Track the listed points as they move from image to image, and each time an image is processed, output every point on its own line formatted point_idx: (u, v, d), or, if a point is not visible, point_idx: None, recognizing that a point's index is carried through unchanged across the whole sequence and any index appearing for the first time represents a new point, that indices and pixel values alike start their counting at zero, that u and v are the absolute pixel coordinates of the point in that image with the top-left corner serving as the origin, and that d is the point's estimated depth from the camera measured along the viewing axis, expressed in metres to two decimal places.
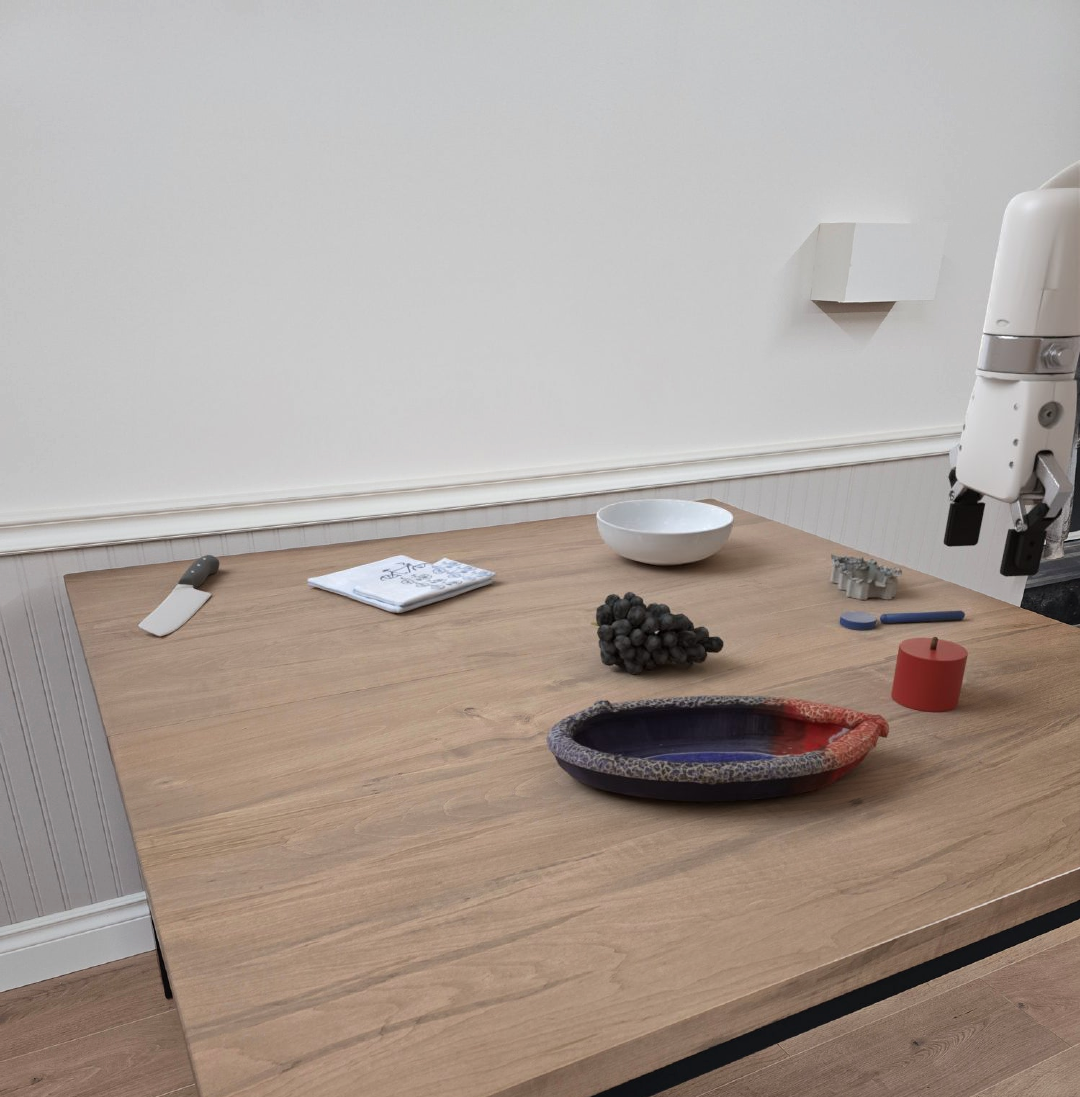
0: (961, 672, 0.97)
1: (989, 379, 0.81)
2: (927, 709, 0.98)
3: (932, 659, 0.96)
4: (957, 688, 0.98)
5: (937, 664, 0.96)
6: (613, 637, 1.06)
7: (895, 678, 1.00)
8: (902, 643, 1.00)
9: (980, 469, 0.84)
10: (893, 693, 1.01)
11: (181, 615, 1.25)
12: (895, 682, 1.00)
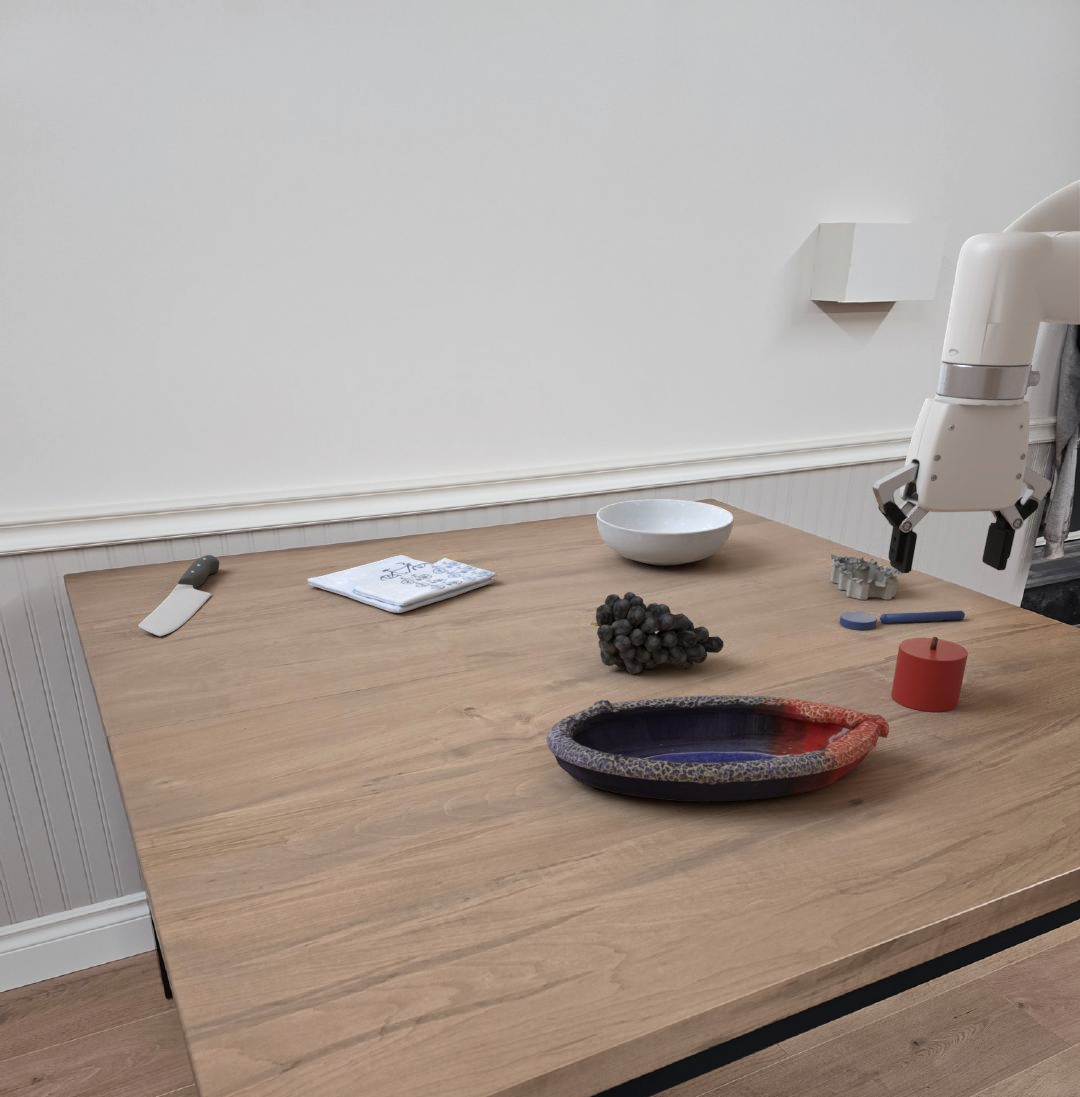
0: (961, 672, 0.97)
1: (983, 407, 0.86)
2: (927, 709, 0.98)
3: (932, 659, 0.96)
4: (957, 688, 0.98)
5: (937, 664, 0.96)
6: (613, 637, 1.06)
7: (895, 678, 1.00)
8: (902, 643, 1.00)
9: (974, 489, 0.89)
10: (893, 693, 1.01)
11: (181, 615, 1.25)
12: (895, 682, 1.00)
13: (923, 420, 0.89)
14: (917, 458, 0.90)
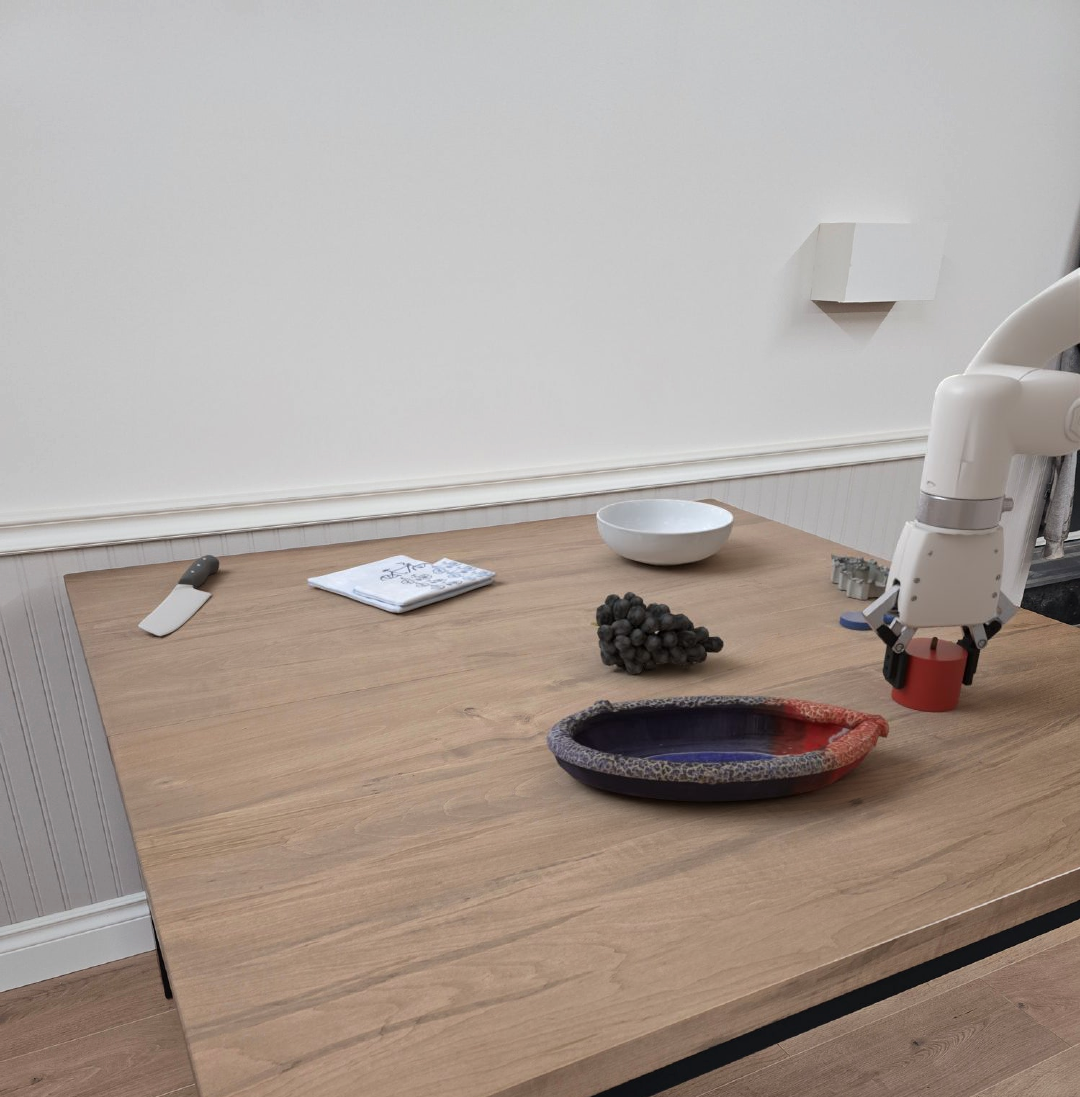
0: (961, 672, 0.97)
1: (959, 535, 0.91)
2: (927, 709, 0.98)
3: (932, 659, 0.96)
4: (957, 688, 0.98)
5: (937, 664, 0.96)
6: (613, 637, 1.06)
7: None
8: None
9: (953, 608, 0.95)
10: (893, 693, 1.01)
11: (181, 615, 1.25)
12: None
13: (903, 543, 0.94)
14: (898, 578, 0.95)
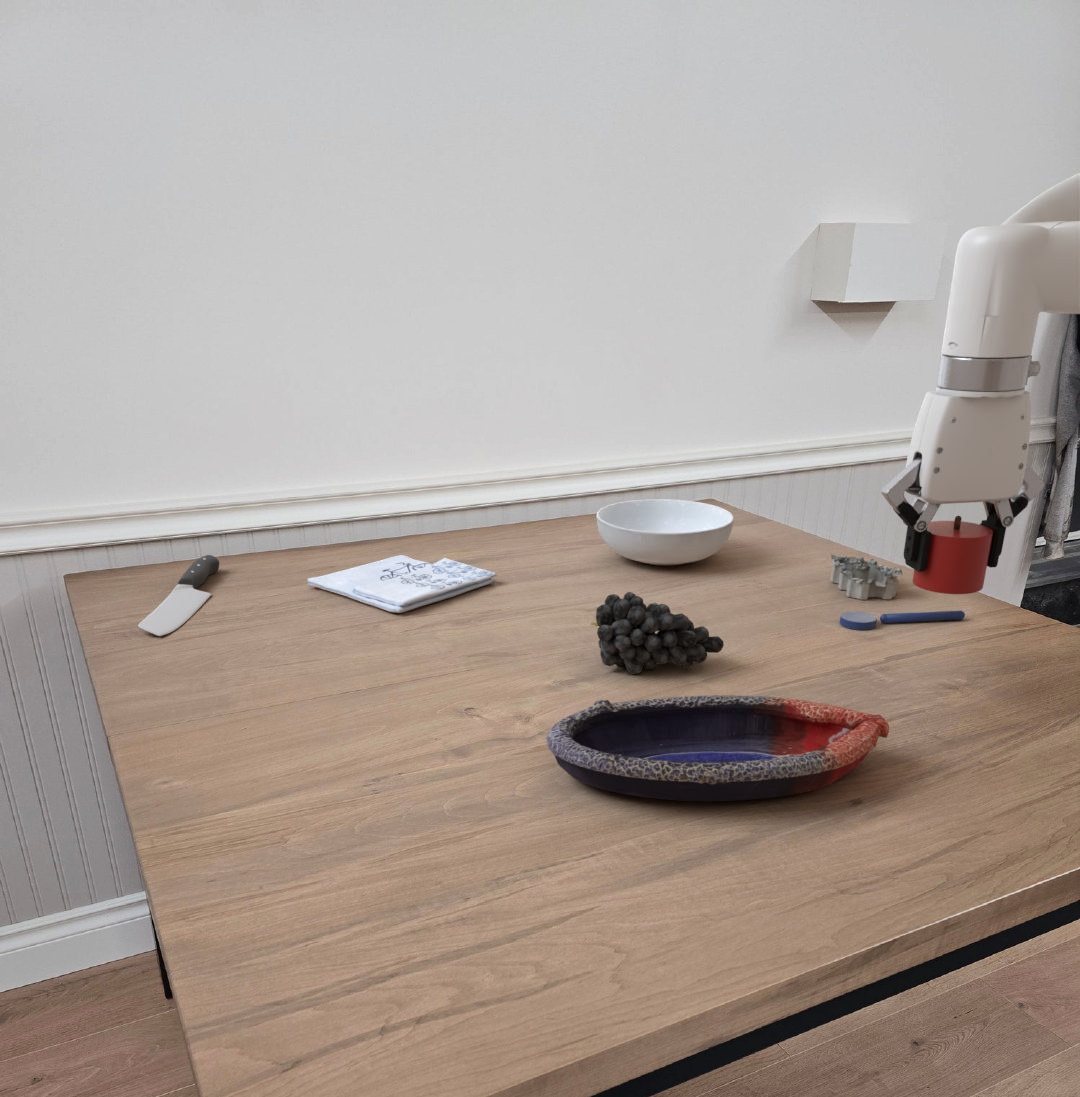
0: (986, 551, 0.93)
1: (984, 399, 0.87)
2: (951, 591, 0.94)
3: (955, 537, 0.92)
4: (982, 568, 0.94)
5: (961, 542, 0.92)
6: (613, 637, 1.06)
7: None
8: None
9: (977, 480, 0.90)
10: (915, 578, 0.97)
11: (181, 615, 1.25)
12: None
13: (925, 413, 0.90)
14: (919, 451, 0.91)
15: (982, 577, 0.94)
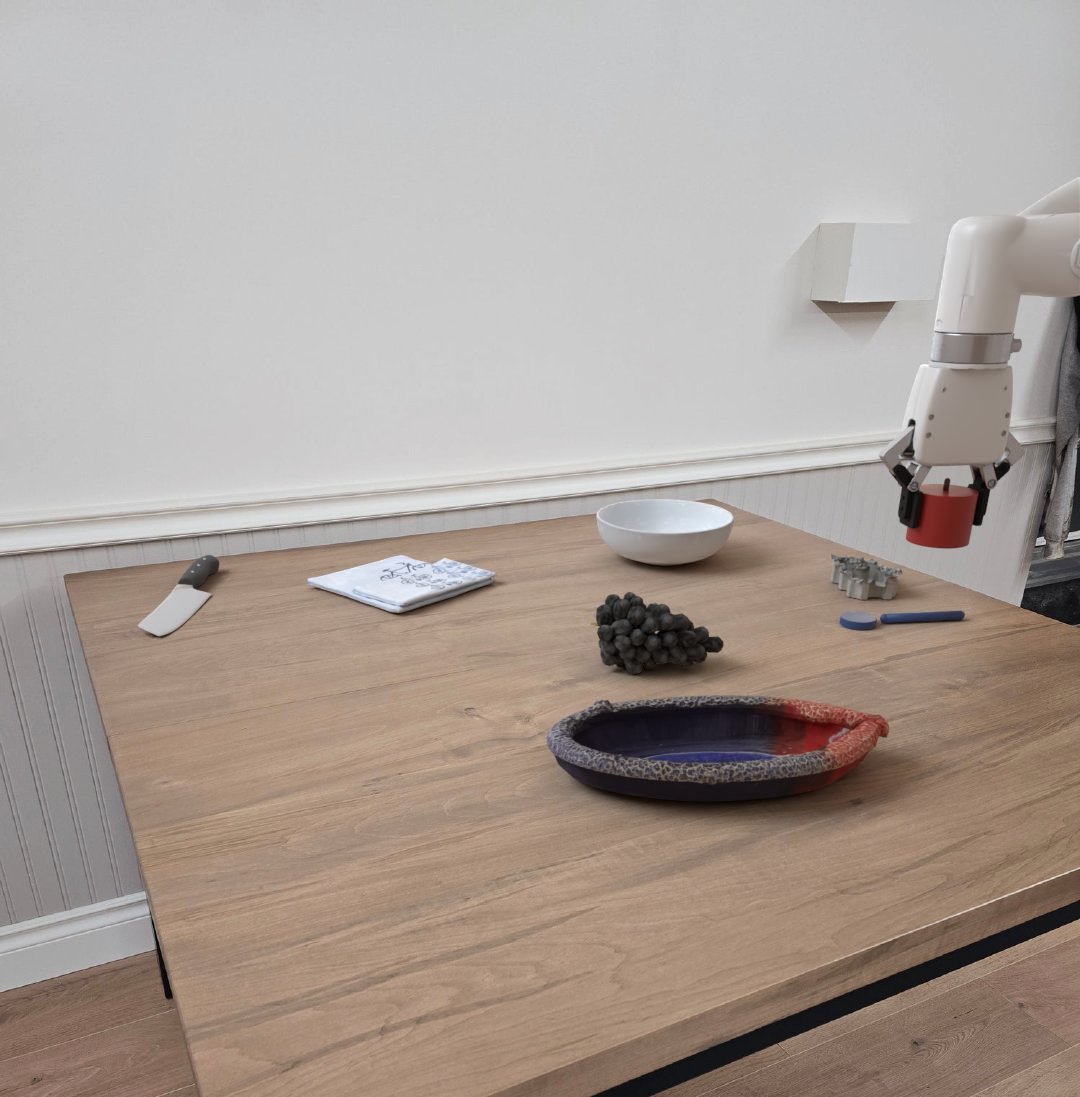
0: (972, 510, 1.03)
1: (971, 371, 0.97)
2: (940, 546, 1.04)
3: (945, 496, 1.02)
4: (968, 525, 1.04)
5: (950, 500, 1.02)
6: (613, 637, 1.06)
7: None
8: None
9: (965, 445, 1.01)
10: (908, 535, 1.07)
11: (181, 615, 1.25)
12: None
13: (918, 384, 1.00)
14: (913, 418, 1.01)
15: (968, 534, 1.05)
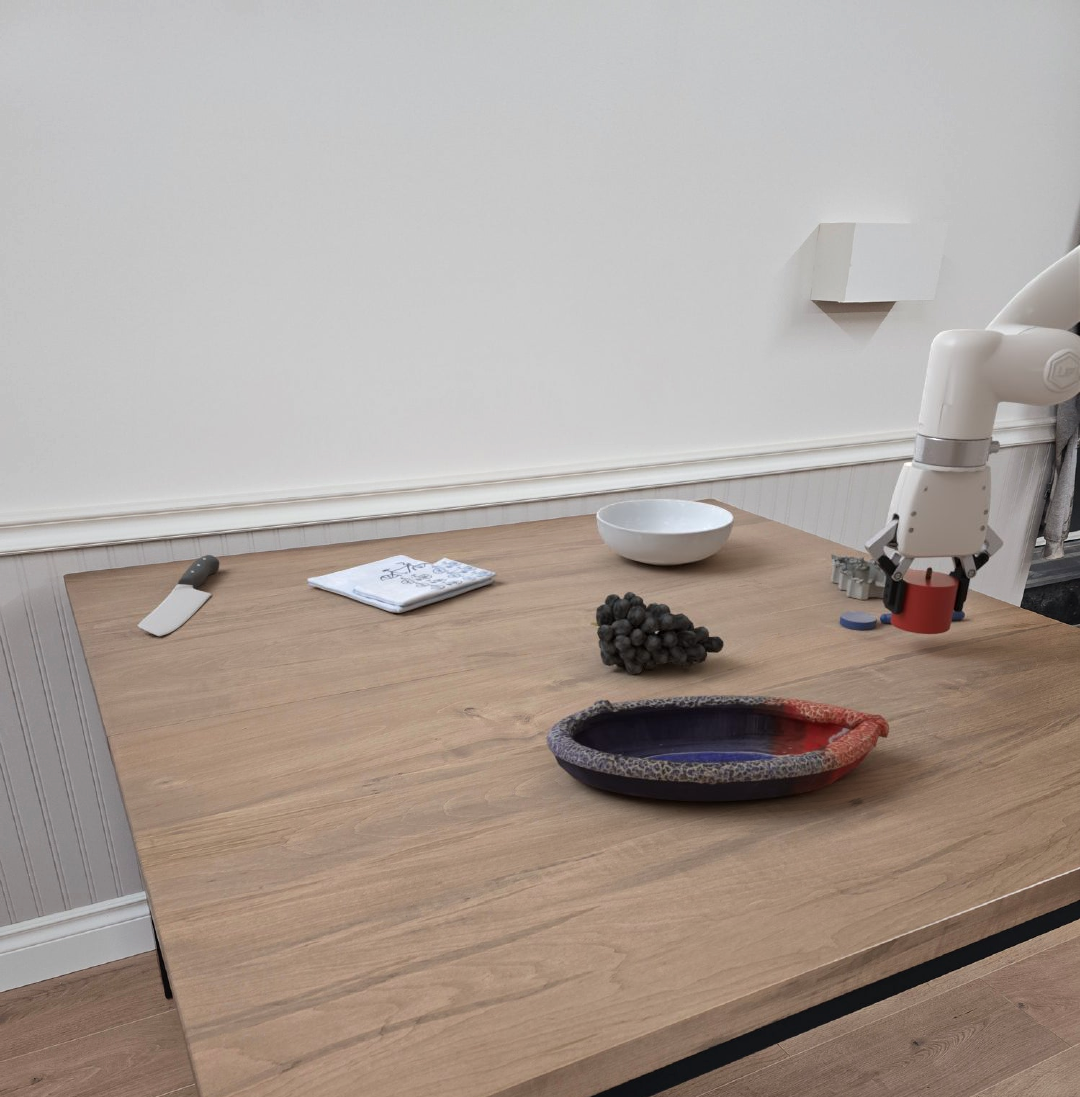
0: (953, 598, 1.09)
1: (951, 473, 1.03)
2: (922, 632, 1.10)
3: (926, 586, 1.08)
4: (949, 612, 1.10)
5: (931, 590, 1.08)
6: (613, 637, 1.06)
7: None
8: None
9: (945, 539, 1.06)
10: (892, 619, 1.13)
11: (180, 615, 1.25)
12: None
13: (902, 481, 1.06)
14: (897, 513, 1.07)
15: (949, 620, 1.10)
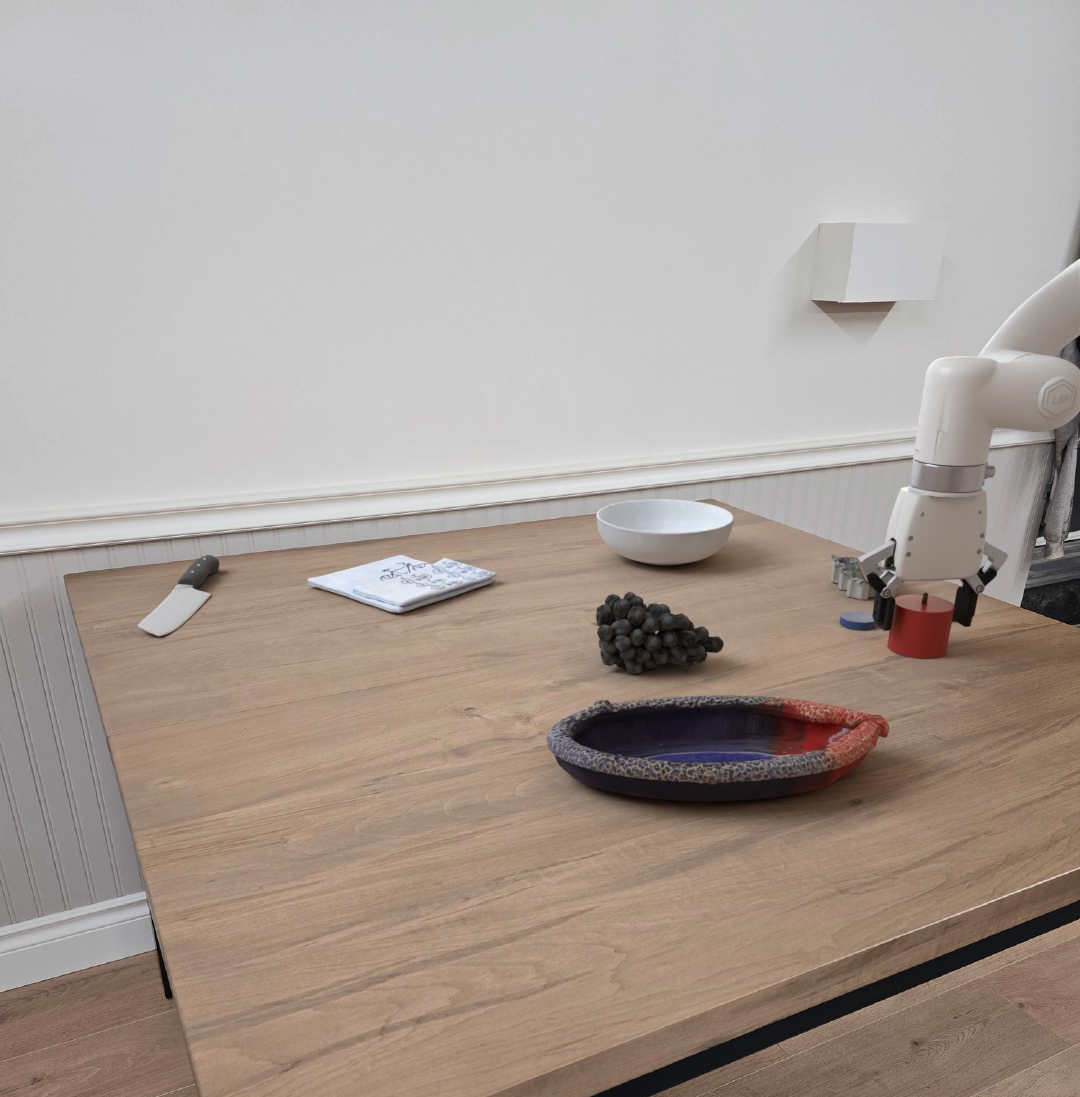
0: (948, 623, 1.10)
1: (948, 498, 1.04)
2: (919, 656, 1.11)
3: (922, 611, 1.09)
4: (945, 637, 1.11)
5: (927, 615, 1.09)
6: (613, 637, 1.06)
7: (890, 630, 1.14)
8: (897, 599, 1.13)
9: (942, 563, 1.08)
10: (889, 643, 1.14)
11: (180, 615, 1.25)
12: (890, 633, 1.14)
13: (899, 506, 1.07)
14: (894, 537, 1.08)
15: (945, 644, 1.12)
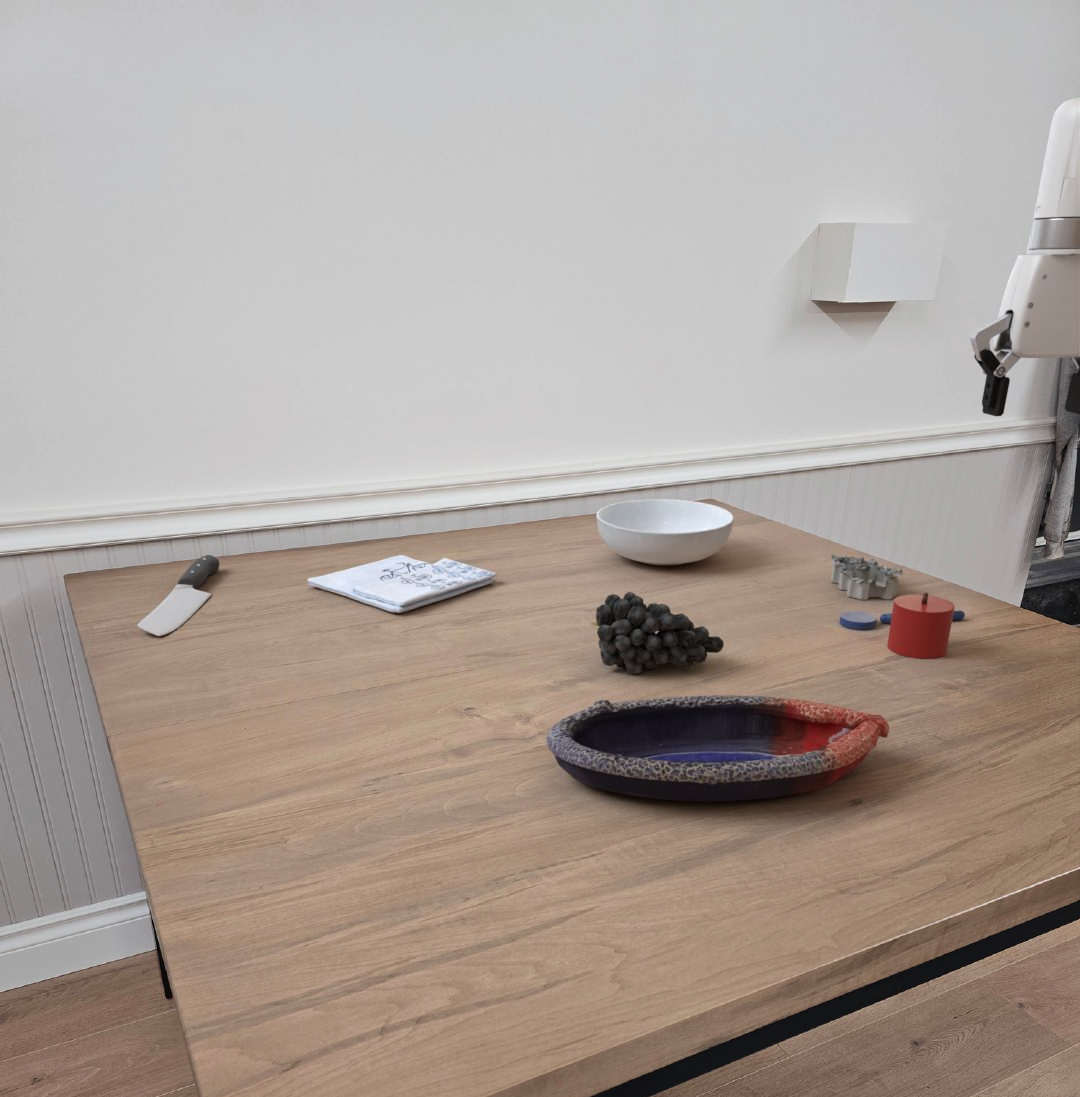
0: (948, 623, 1.10)
1: (1073, 257, 0.97)
2: (919, 656, 1.11)
3: (922, 611, 1.09)
4: (945, 637, 1.11)
5: (927, 615, 1.09)
6: (613, 637, 1.06)
7: (890, 630, 1.14)
8: (897, 599, 1.13)
9: (1063, 335, 1.00)
10: (889, 643, 1.14)
11: (180, 615, 1.25)
12: (890, 633, 1.14)
13: (1017, 273, 1.00)
14: (1011, 308, 1.01)
15: (945, 644, 1.12)
